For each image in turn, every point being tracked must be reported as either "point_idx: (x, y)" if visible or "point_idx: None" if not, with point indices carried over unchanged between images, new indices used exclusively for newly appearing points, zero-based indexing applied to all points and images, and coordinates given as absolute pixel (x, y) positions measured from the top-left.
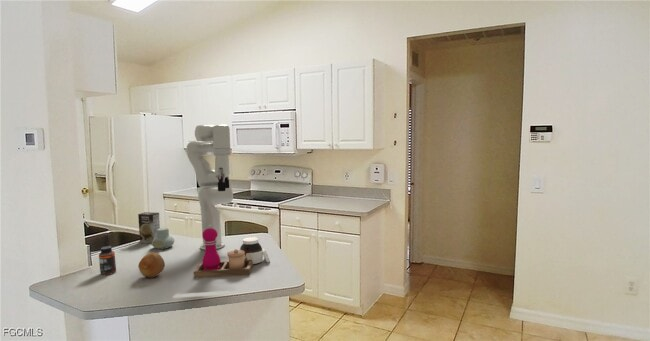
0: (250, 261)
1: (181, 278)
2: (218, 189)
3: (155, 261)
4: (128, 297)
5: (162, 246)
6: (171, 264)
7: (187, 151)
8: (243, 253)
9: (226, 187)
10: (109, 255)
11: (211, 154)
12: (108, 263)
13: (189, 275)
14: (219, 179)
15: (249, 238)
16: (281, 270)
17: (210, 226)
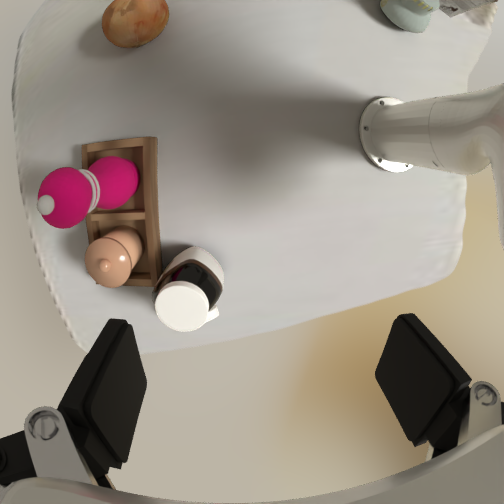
0: (145, 283)
1: (112, 105)
2: (104, 333)
3: (106, 31)
4: (44, 54)
5: (381, 5)
6: (235, 39)
7: None
8: (102, 285)
9: (383, 359)
10: None
11: None
12: None
13: (128, 117)
14: (17, 453)
15: (191, 305)
16: (149, 335)
17: (39, 212)
